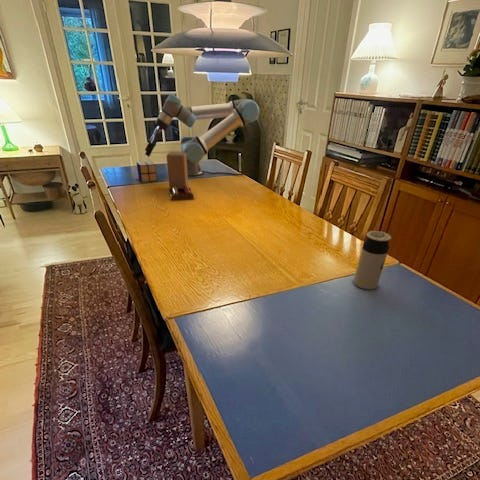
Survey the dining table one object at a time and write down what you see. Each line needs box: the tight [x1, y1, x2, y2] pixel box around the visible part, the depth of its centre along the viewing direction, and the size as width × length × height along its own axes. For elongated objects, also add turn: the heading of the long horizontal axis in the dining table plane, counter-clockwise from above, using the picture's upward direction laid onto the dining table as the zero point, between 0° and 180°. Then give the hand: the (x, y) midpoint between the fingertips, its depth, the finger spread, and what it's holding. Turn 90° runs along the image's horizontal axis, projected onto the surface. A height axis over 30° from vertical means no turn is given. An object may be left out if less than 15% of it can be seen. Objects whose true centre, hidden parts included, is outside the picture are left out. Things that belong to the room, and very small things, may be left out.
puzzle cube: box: [136, 160, 158, 183], centre depth 220 cm, size 10×10×10 cm
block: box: [166, 151, 189, 190], centre depth 201 cm, size 10×10×20 cm
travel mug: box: [353, 230, 392, 290], centre depth 114 cm, size 8×8×18 cm
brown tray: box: [169, 185, 194, 201], centre depth 195 cm, size 12×14×4 cm
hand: (146, 153), depth 213 cm, fingers open, 13 cm apart
